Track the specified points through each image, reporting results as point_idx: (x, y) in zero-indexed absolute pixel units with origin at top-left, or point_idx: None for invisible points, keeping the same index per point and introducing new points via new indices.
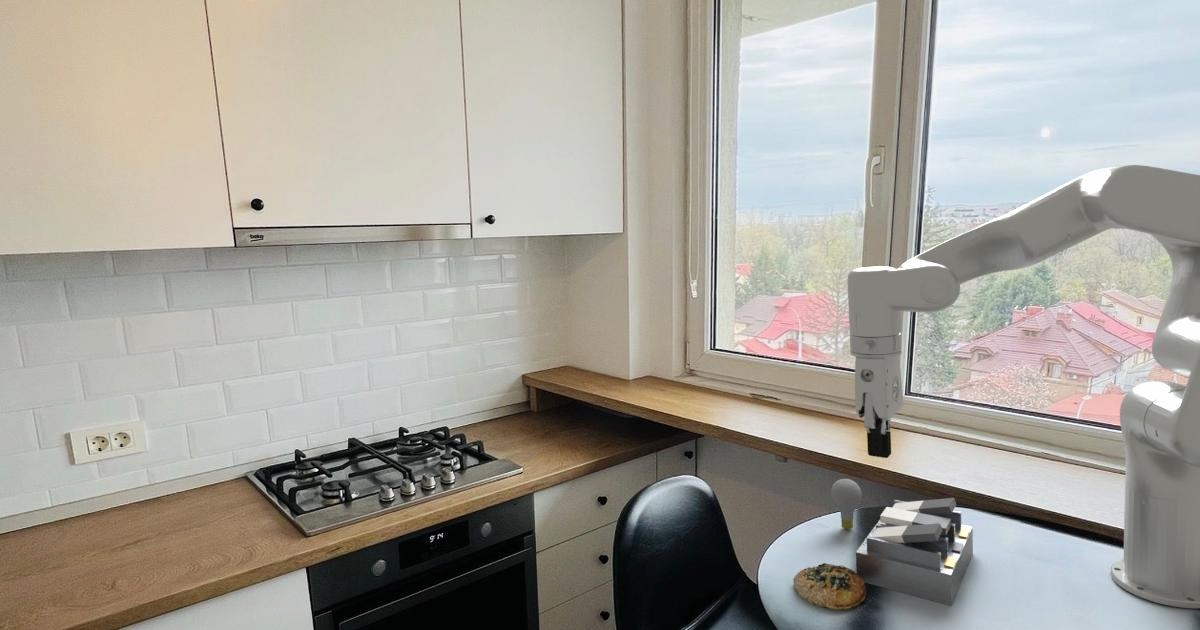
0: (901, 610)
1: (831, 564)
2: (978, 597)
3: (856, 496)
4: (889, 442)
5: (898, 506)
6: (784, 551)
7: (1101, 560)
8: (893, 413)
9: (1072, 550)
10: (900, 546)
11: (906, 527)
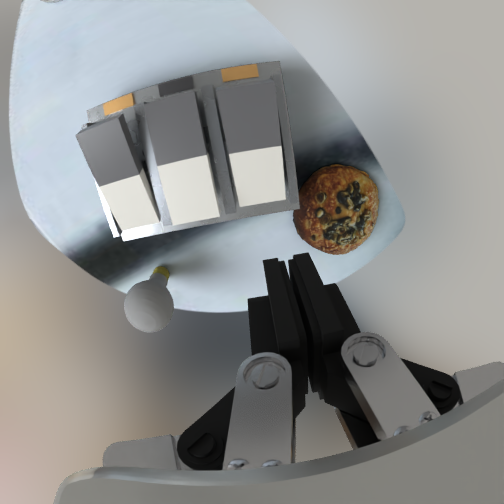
0: (325, 118)
1: (310, 230)
2: (225, 51)
3: (151, 290)
4: (287, 296)
5: (134, 218)
6: None
7: (47, 19)
8: (475, 433)
9: (38, 47)
10: (289, 141)
11: (239, 152)
